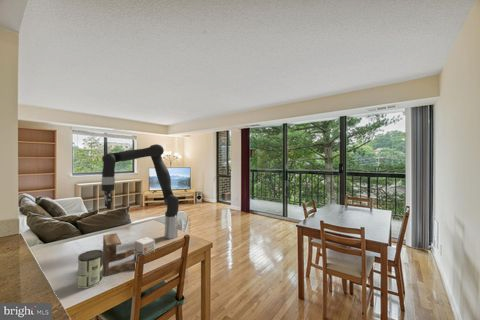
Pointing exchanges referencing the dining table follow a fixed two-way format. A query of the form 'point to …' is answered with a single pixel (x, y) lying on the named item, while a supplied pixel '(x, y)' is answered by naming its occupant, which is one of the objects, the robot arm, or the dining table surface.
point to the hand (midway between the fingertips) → (107, 207)
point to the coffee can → (90, 268)
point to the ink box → (144, 246)
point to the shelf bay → (115, 255)
